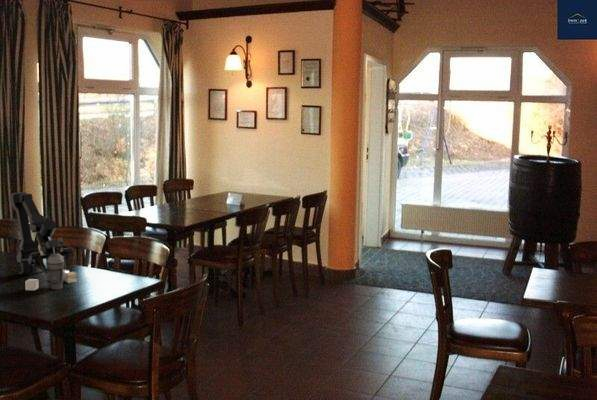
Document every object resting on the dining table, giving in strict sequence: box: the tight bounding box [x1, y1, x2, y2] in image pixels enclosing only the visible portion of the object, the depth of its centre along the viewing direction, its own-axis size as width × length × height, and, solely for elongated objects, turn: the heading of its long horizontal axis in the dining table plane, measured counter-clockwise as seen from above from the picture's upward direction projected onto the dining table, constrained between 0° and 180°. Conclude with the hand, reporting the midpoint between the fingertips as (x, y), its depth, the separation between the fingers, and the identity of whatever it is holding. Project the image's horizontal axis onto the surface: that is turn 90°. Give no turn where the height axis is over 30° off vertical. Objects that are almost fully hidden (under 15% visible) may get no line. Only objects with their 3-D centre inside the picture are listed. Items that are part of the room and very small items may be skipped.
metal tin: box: [63, 268, 70, 282], centre depth 299 cm, size 6×6×4 cm
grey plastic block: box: [24, 278, 40, 291], centre depth 283 cm, size 4×4×4 cm
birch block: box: [64, 271, 78, 284], centre depth 296 cm, size 4×4×4 cm
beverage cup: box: [46, 247, 65, 290], centre depth 284 cm, size 7×7×20 cm
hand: (57, 271), depth 283 cm, fingers open, 9 cm apart
